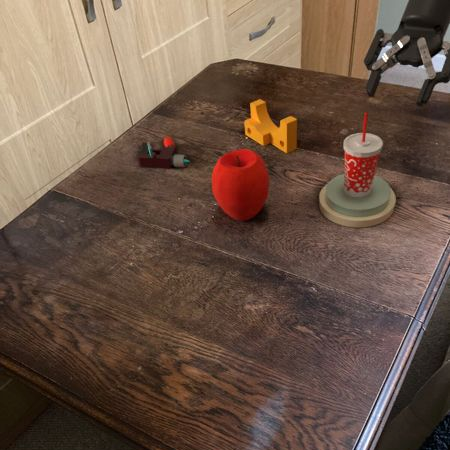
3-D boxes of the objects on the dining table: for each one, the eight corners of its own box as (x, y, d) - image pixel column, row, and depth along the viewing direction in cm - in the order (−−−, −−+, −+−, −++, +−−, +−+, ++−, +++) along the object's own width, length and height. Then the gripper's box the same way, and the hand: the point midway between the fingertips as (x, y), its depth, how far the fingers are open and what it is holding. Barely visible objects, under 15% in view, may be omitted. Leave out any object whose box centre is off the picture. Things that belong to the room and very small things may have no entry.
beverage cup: (335, 182, 87) (341, 106, 77) (369, 177, 87) (380, 100, 77) (344, 202, 83) (352, 125, 73) (380, 197, 83) (393, 119, 73)
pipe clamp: (245, 134, 107) (243, 106, 102) (261, 127, 108) (260, 99, 104) (280, 156, 100) (279, 127, 95) (296, 148, 101) (297, 119, 97)
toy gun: (189, 171, 99) (185, 149, 96) (133, 169, 102) (128, 148, 98) (200, 145, 106) (197, 124, 102) (148, 144, 108) (143, 123, 105)
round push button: (406, 195, 88) (409, 181, 85) (374, 236, 81) (377, 222, 79) (339, 175, 93) (341, 161, 91) (305, 213, 87) (305, 199, 85)
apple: (236, 191, 93) (231, 132, 84) (281, 206, 89) (280, 145, 80) (205, 220, 88) (195, 161, 79) (251, 238, 84) (246, 177, 75)
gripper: (479, 18, 80) (438, 116, 83) (395, 9, 87) (359, 100, 89) (478, -8, 73) (433, 99, 76) (386, -16, 80) (348, 83, 83)
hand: (393, 100), depth 83 cm, fingers open, 8 cm apart
